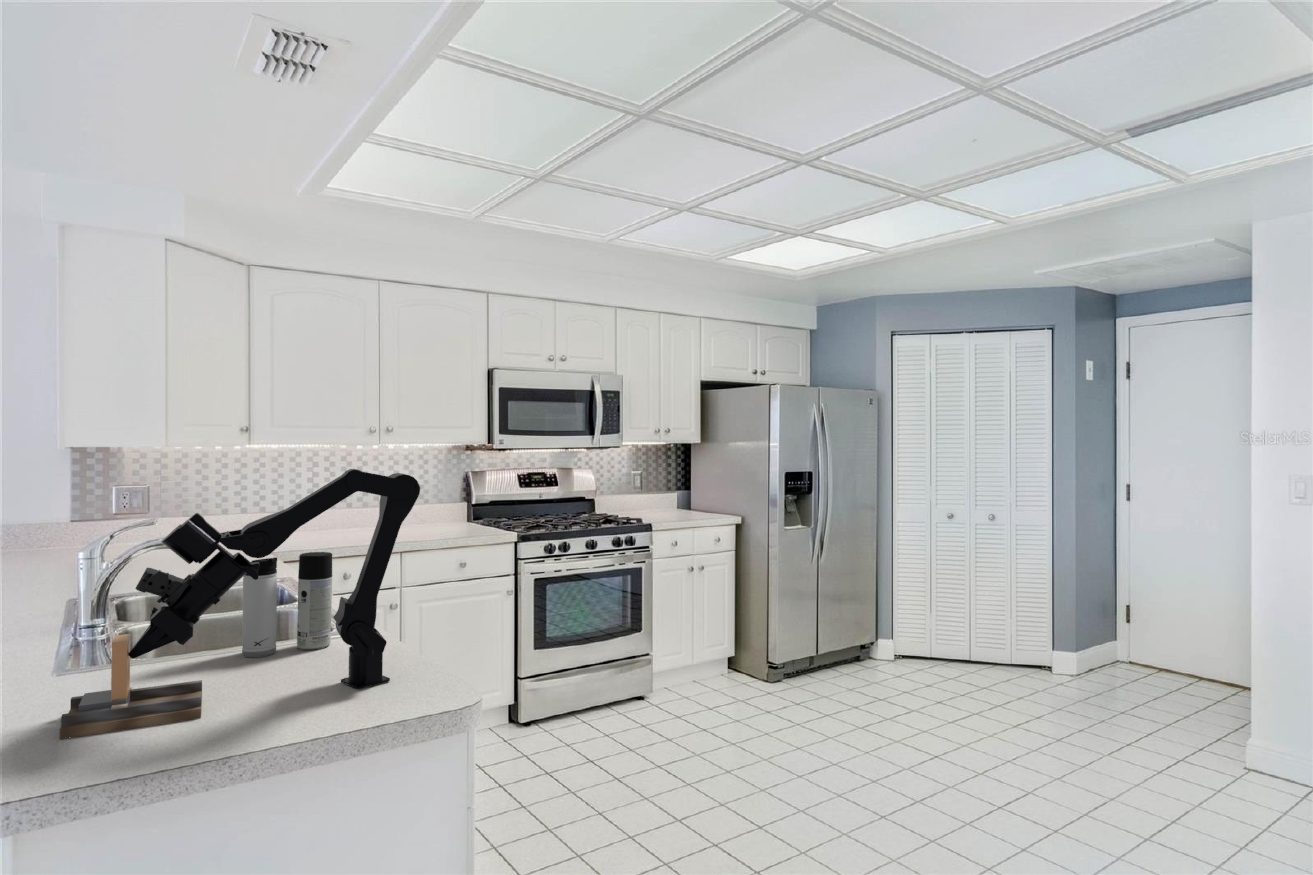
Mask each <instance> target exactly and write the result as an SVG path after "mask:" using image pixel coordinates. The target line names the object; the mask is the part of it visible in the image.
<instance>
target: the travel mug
mask: <svg viewBox="0 0 1313 875" xmlns="http://www.w3.org/2000/svg"><path fill="white" fill-rule="evenodd" d="M251 562H259V564H260V566H259V569H258V579H257V580H254V579H253V578H252V577H250V576H249V575H248V574H247V573H246V574H245V575H244V576H243V577H242V632H241V633H242V642H241V644H242V646H241V647H242V648H241V651H242V654H241V655H242V656H243V657H245V658H250V659H251V658H263V657H267V656H271V655H274V654H275V653H276V652H277V612H278V611H277V610H278V609H277V608H278V607H277V602H278V600H277V598H278V596H277V594H278V591H277V590H278V571H277V570H278V569H277V567H278V564H277V563H278V557H275V556H274V557H269V558H258V559H254V560H251Z"/></svg>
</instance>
